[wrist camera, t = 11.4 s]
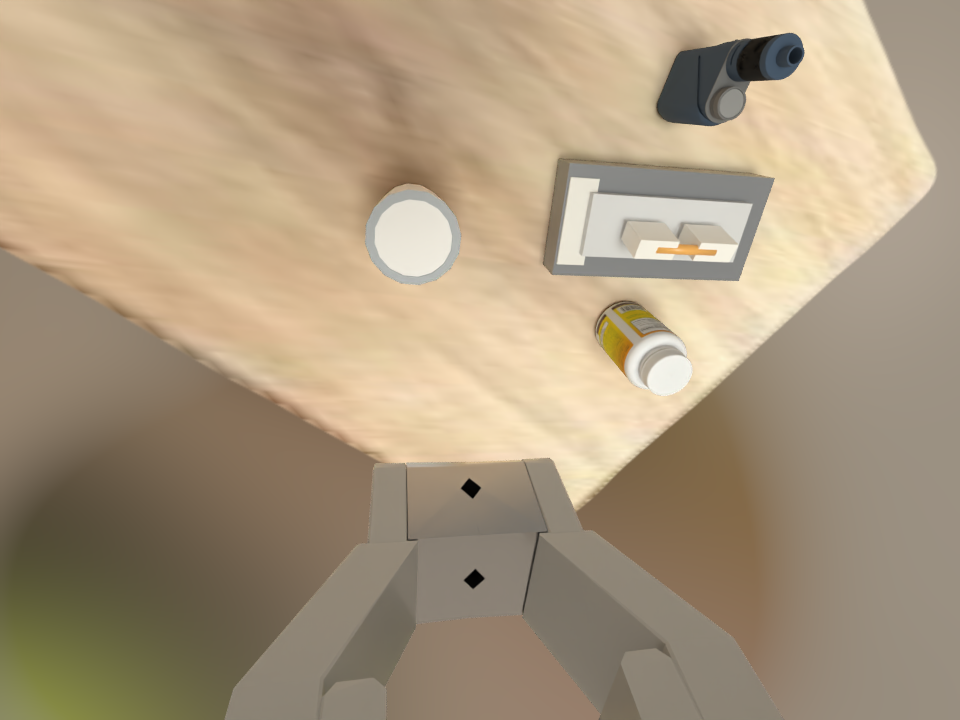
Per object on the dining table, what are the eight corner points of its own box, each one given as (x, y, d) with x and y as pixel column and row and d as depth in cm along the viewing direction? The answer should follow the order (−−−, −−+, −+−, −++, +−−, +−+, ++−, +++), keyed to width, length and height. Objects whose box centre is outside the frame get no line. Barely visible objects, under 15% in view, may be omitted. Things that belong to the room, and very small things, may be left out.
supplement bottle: (610, 359, 50) (655, 415, 41) (583, 322, 47) (625, 374, 38) (655, 327, 49) (712, 378, 40) (631, 288, 46) (685, 333, 37)
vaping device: (707, 55, 37) (826, 39, 27) (676, 126, 40) (774, 136, 29) (680, 43, 37) (791, 21, 26) (649, 116, 39) (740, 122, 29)
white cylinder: (448, 172, 39) (458, 186, 33) (455, 254, 42) (464, 280, 36) (363, 178, 38) (356, 193, 32) (377, 261, 41) (372, 290, 35)
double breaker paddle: (627, 220, 38) (641, 240, 36) (720, 226, 39) (739, 245, 37) (621, 238, 39) (634, 259, 37) (711, 243, 40) (729, 263, 38)
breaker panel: (558, 158, 39) (574, 164, 36) (751, 173, 42) (783, 180, 39) (543, 264, 44) (555, 278, 40) (719, 270, 47) (745, 284, 43)
